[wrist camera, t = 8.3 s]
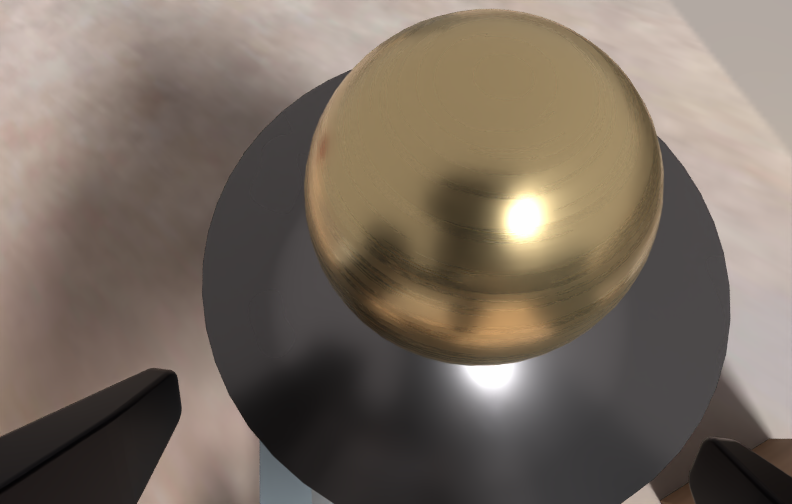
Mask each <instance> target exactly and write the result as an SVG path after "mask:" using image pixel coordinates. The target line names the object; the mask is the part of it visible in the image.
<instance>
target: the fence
mask: <svg viewBox="0 0 792 504" xmlns="http://www.w3.org/2000/svg"><path fill="white" fill-rule="evenodd" d="M752 451H753V452H755V453H756V454H758V455H759V456H761V457H762V458H764V459H765V460H767V461H768V462H770V463H771V464H773V465H774V466H776V467H777V468H779V469H780V470H782V471H783V472H785V473H786V474H788V475H789V476H791V477H792V439H768V440H767V441H765V442H764V443H762V444H760V445H759V446H757V447H756V448H754V449H753V450H752ZM660 502H661V503H662V504H695V502H694V499H693V496H692V493H691V490H690V486H689V483H687V484H686V485H684V486H683V487H681V488H679V489H678V490H676V491H675V492H673V493H672V494H670V495H668V496H667V497H665V498H664V499H662V500H661V501H660Z"/></svg>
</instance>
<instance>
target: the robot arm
mask: <svg viewBox="0 0 792 504" xmlns="http://www.w3.org/2000/svg"><path fill="white" fill-rule="evenodd" d="M181 409H182V408H181V399H180V392H179V385H178V378H177V375H176V373H175V372H174V371H172V370H166V369H158V368H150V369H147V370H145V371H143V372H141V373H139V374H136V375H134V376H132V377H130V378H128V379H126V380H123V381H121V382H119V383H117V384H115V385H112V386H110V387H108V388H106V389H104V390H102V391H99V392H97V393H95V394H93V395H91V396H88V397H86V398H84V399H82V400H80V401H78V402H75V403H73V404H71V405H69V406H67V407H64V408H62V409H60V410H58V411H56V412H54V413H51V414H49V415H47V416H45V417H43V418H40V419H38V420H36V421H34V422H32V423H30V424H27V425H25V426H23V427H21V428H19V429H16V430H14V431H12V432H10V433H8V434H6V435H3V436H1V437H0V504H137V502H138V500H139V499H140V497H141V495H142V493H143V491H144V489H145V487H146V485H147V483H148V481H149V479H150V477H151V475H152V473H153V471H154V469H155V467H156V465H157V463H158V461H159V459H160V457H161V455H162V453H163V452H164V450H165V448H166V446H167V444H168V442H169V440H170V438H171V436H172V434H173V432H174V430H175V428H176V426H177V424H178V422H179V419H180V416H181ZM689 486H690V490H691V493H692V496H693V499H694V502H695V504H792V477H791V476H789V475H788V474H786V473H785V472H783V471H782V470H780V469H779V468H777V467H776V466H774V465H773V464H771V463H770V462H768V461H767V460H765V459H764V458H762V457H761V456H759V455H758V454H756V453H755V452H753V451H752V450H750V449H749V448H747V447H746V446H744V445H743V444H741V443H740V442H738V441H736V440H733V439H726V438H718V437H708V438H706V439H705V440H704V441H703V442H702V444H701V446H700V449H699V451H698V453H697V456H696V458H695V460H694V463H693V465H692V467H691V470H690V473H689Z"/></svg>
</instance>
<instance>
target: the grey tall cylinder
mask: <svg viewBox="0 0 792 504" xmlns="http://www.w3.org/2000/svg"><path fill="white" fill-rule="evenodd" d="M202 297H203V306H204V314H205V323H206V329H207V333H208V337H209V341H210V345H211V348H212V352H213V356H214V360H215V363H216V365H217V367H218V370H219V372H220V374H221V377H222V379H223V382H224V384H225V386H226V389H227V391H228V393H229V395H230V397H231V399H232V400H233V402H234V403H235V405H236V407H237V408H238V410H239V412H240V413H241V415H242V417H243V418H244V420H245V422H246V423H247V425H248V426H249V428H250V429H251V430H252V431H253V432H254V434H255V435H256V436H257V437H258V438H259V440H260V441H261V442H262V443H263V445H264V446H265V447H266V448H267V449H268V451H269V452H270V453H271V454H272V455H273V457H275V458H276V459H277V460H278V461H279V462H280V463H281V464H282V465H283V466H285V467H286V468H287V469H288V470H289V471H290V472H291V473H292V474H293V475H295V476H296V477H297V478H298V479H299V480H300V481H301V482H302V483H304V484H305V485H307V486H308V487H310V488H311V489H313V490H314V491H316V492H317V493H319V494H320V495H322V496H323V497H325V498H326V499H328V500H329V501H331V502H332V503H334V504H621V503H622V502H624V501H625V500H627V499H628V498H629V497H631V496H632V495H633V494H635V493H636V492H637V491H639V490H640V489H641V488H643V487H644V486H645V485H647V484H648V483H649V482H651V481H652V480H653V479H654V478H655V477H656V476H657V475H658V474H659V473H660V472H661V471H662V470H663V469H664V468H665V467H666V466H667V465H668V463H669V462H670V461H671V460H672V459H673V458H674V457H675V456H676V455H677V454H678V453H679V452H680V451H681V449H682V448H683V446H684V445H685V443H686V442H687V440H688V439H689V437H690V436H691V435H692V433H693V432H694V430H695V429H696V427H697V426H698V424H699V423H700V421H701V420H702V417H703V415H704V413H705V411H706V409H707V407H708V405H709V402H710V400H711V398H712V396H713V394H714V392H715V390H716V387H717V384H718V380H719V377H720V373H721V370H722V366H723V363H724V359H725V356H726V350H727V342H728V334H729V326H730V290H729V280H728V275H727V269H726V263H725V257H724V252H723V249H722V246H721V243H720V240H719V236H718V233H717V230H716V227H715V224H714V221H713V219H712V217H711V215H710V213H709V210H708V208H707V206H706V204H705V202H704V200H703V198H702V195H701V193H700V192H699V190H698V188H697V187H696V185H695V184H694V182H693V181H692V179H691V177H690V176H689V174H688V173H687V171H686V169H685V168H684V166H683V165H682V164H681V163H680V161H679V160H678V159H677V158H676V156H675V155H674V154H673V153H672V151H671V150H670V149H669V148H668V146H667V145H666V144H665V143H664V142H663V141H662V140H661V139H660V138H659V137H658V136H657V134H656V131H655V127H654V124H653V121H652V118H651V116H650V114H649V112H648V109H647V107H646V105H645V103H644V101H643V100H642V98H641V97H640V95H639V93H638V92H637V90H636V89H635V87H634V86H633V84H632V82H631V81H630V79H629V78H628V77H627V75H626V74H625V73H624V72H623V71H622V69H621V68H620V67H619V66H618V64H616V63H615V62H614V61H613V60H612V59H611V58H610V57H609V56H608V55H607V54H606V53H605V52H604V51H602V50H601V49H600V48H598V47H597V46H596V45H594V44H593V43H592V42H590V41H589V40H587V39H586V38H584V37H583V36H581V35H580V34H578V33H576V32H575V31H573V30H571V29H569V28H567V27H565V26H563V25H561V24H559V23H557V22H554V21H551V20H548V19H546V18H543V17H540V16H536V15H532V14H528V13H524V12H518V11H511V10H500V9H476V10H468V11H460V12H455V13H450V14H446V15H441V16H437V17H434V18H431V19H428V20H425V21H422V22H419V23H417V24H415V25H413V26H410V27H408V28H406V29H404V30H402V31H401V32H399V33H397V34H396V35H394V36H392V37H391V38H389V39H388V40H386V41H385V42H383V43H381V44H380V45H379V46H377V47H376V48H375V49H374V50H372V51H371V52H370V53H368V54H367V55H366V56H365V57H364V58H363V59H362V60H361V61H360V62H359V63H358V64H357V65H356V66H355V67H354V68H353V69H352V70H350V71H347V72H345V73H343V74H341V75H339V76H337V77H334V78H332V79H330V80H328V81H326V82H325V83H323V84H321V85H320V86H318V87H316V88H315V89H313V90H311V91H310V92H308V93H306V94H305V95H303V96H302V97H301V98H299V99H298V100H297V101H295V102H294V103H293V104H291V105H290V106H289V107H287V108H286V109H285V110H284V111H282V112H281V113H280V114H279V115H278V116H277V117H276V118H275V119H274V120H273V121H272V122H271V123H270V124H269V125H268V126H267V127H266V128H265V129H264V130H263V131H262V132H261V133H260V134H259V135H258V137H257V138H256V139H255V140H254V142H253V143H252V144H251V145H250V147H249V148H248V149H247V150H246V151H245V153H244V154H243V156H242V157H241V159H240V161H239V162H238V164H237V165H236V167H235V169H234V170H233V172H232V173H231V175H230V177H229V179H228V181H227V183H226V185H225V187H224V190H223V192H222V194H221V196H220V198H219V200H218V203H217V205H216V209H215V212H214V215H213V218H212V221H211V225H210V228H209V231H208V236H207V242H206V248H205V254H204V260H203V285H202Z"/></svg>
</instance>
